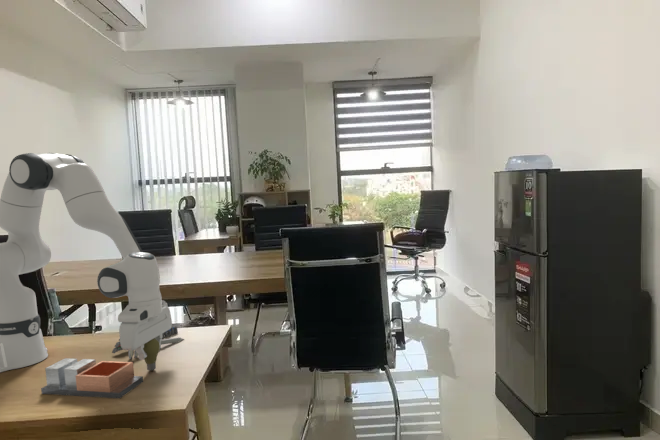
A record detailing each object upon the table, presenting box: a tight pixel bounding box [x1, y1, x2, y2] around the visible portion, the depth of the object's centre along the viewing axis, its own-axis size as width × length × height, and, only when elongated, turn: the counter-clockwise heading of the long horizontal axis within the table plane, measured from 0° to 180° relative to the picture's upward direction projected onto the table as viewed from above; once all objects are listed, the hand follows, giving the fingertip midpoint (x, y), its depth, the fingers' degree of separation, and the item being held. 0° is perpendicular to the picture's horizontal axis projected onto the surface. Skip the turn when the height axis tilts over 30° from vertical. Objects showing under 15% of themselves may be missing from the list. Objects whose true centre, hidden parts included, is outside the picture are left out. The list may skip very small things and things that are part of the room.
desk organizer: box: [40, 357, 144, 399], centre depth 127 cm, size 24×10×6 cm, turn 77°
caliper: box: [127, 336, 185, 360], centre depth 155 cm, size 20×1×6 cm, turn 145°
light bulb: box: [143, 338, 161, 372], centre depth 136 cm, size 6×6×10 cm
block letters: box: [111, 325, 179, 354], centre depth 161 cm, size 25×2×6 cm, turn 147°
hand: (150, 354), depth 136 cm, fingers closed on light bulb, 6 cm apart
